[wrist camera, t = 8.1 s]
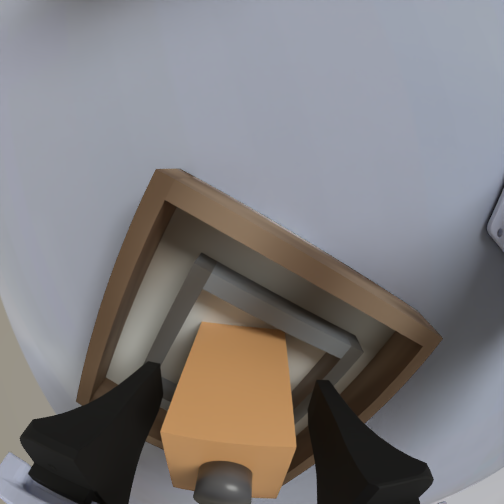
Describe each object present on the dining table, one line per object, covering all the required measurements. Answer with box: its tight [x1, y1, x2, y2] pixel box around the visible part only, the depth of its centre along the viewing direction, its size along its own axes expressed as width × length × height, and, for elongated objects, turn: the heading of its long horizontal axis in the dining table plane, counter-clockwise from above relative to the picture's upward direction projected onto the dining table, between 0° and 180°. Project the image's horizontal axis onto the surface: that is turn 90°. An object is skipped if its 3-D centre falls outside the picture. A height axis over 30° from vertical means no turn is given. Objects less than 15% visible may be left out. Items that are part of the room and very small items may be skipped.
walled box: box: [76, 169, 443, 486], centre depth 13 cm, size 14×14×3 cm
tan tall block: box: [160, 322, 296, 504], centre depth 10 cm, size 4×4×8 cm
